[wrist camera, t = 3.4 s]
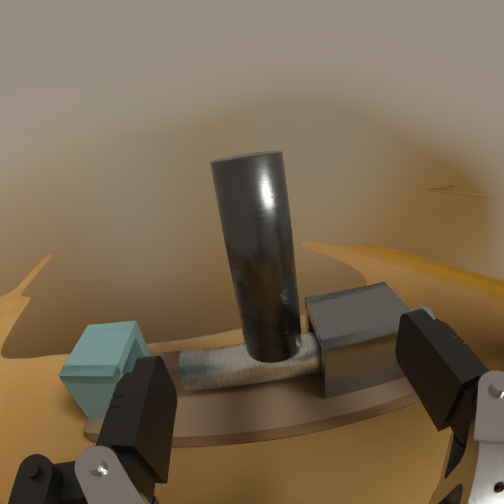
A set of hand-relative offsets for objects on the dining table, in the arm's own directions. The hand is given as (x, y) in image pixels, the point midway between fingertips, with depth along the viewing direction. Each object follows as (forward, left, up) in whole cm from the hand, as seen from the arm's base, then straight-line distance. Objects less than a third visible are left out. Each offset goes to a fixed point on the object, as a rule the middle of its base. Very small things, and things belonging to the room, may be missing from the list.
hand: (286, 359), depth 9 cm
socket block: (+13, -10, -11) cm, 20 cm away
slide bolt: (-3, -10, -11) cm, 15 cm away
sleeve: (-6, -10, -11) cm, 16 cm away
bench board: (+2, -10, -13) cm, 16 cm away
